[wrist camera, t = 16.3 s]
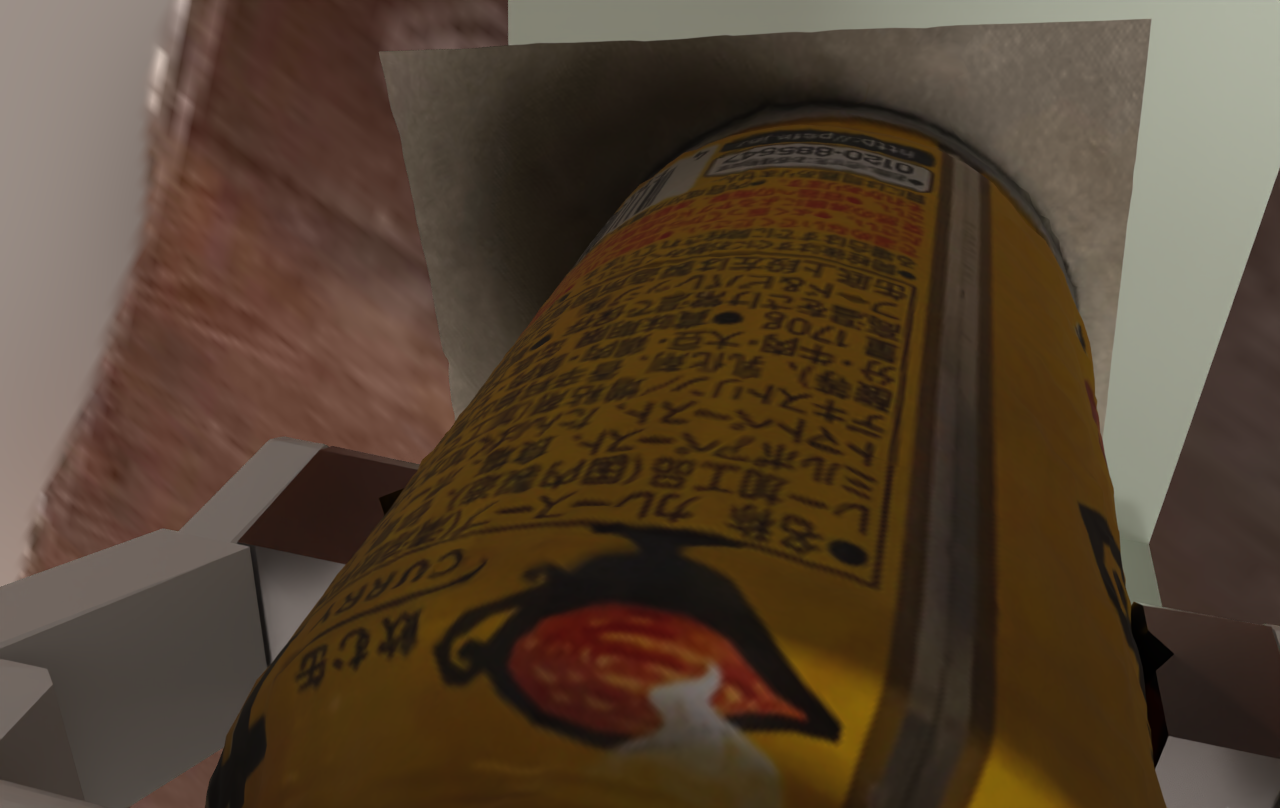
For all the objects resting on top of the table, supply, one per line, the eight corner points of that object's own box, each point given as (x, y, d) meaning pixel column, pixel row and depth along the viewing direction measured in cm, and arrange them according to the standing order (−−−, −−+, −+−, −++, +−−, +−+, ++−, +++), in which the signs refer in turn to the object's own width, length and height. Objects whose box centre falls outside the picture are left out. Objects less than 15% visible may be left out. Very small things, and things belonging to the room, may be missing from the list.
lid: (1117, 559, 31) (1141, 692, 27) (532, 452, 34) (470, 557, 29) (1444, -419, 20) (1570, -455, 16) (541, -456, 23) (443, -494, 19)
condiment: (1085, 588, 15) (1283, 2218, 5) (482, 542, 18) (-192, 1637, 7) (1149, 12, 12) (2064, 1536, 2) (390, 44, 14) (-1099, 825, 4)
